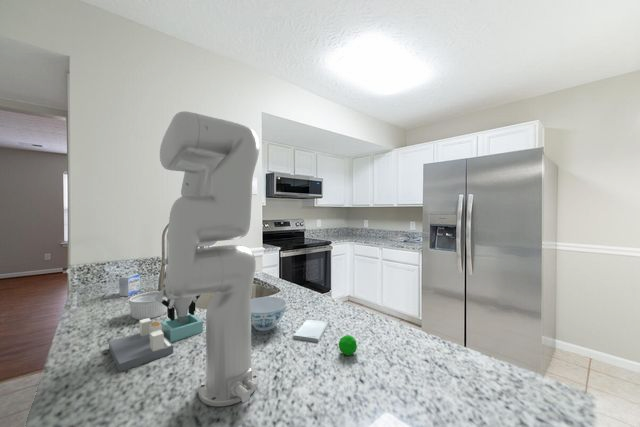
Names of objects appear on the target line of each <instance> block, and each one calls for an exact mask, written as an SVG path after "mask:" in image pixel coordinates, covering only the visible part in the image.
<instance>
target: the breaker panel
mask: <svg viewBox="0 0 640 427" xmlns="http://www.w3.org/2000/svg"><path fill="white" fill-rule="evenodd" d="M138 320H139V319H138ZM151 323H153V322H152V320H151V319H150V318H147V319H143V320H139V331H138V333H134V334H129V335H128V336H123V337H120V338H117V339H116V338H115V339H111V340H109V341H108V349H109V352H110V354H111V356H112V358H113V360H114V363H115V365H116V367H117V369H118V372H119V373H121V372H124V371H126V370H129V369H132V368H134V367H135V368H136V367H139V366H140V365H142V364H143V365H144V364H146V363H149V362H151V361H154V360H157V359H160V358H163V357H166V356H168V355H170V354H171V355H172V354H174V344H173V342H170V341H169V340H168V339H167V338H166V337H165V336H164V333H163V332H162V331H161V330H159V331H155V332H152V333H150V338H149V325H150V324H151Z"/></svg>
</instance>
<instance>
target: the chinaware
mask: <svg viewBox="0 0 640 427" xmlns="http://www.w3.org/2000/svg"><path fill="white" fill-rule="evenodd" d="M287 302H288V301H287V300H285V299H284V298H282V297H281V298H280V297H275V296H262V297H255V298H251V326H253V327H254V329H255V330H256V331H260V332H265V331H270V330H272V329H274V328H275V326H276V324H277V323H279V322H280V320H282V318H283V316H284V315H285V313H286V310H287Z"/></svg>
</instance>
